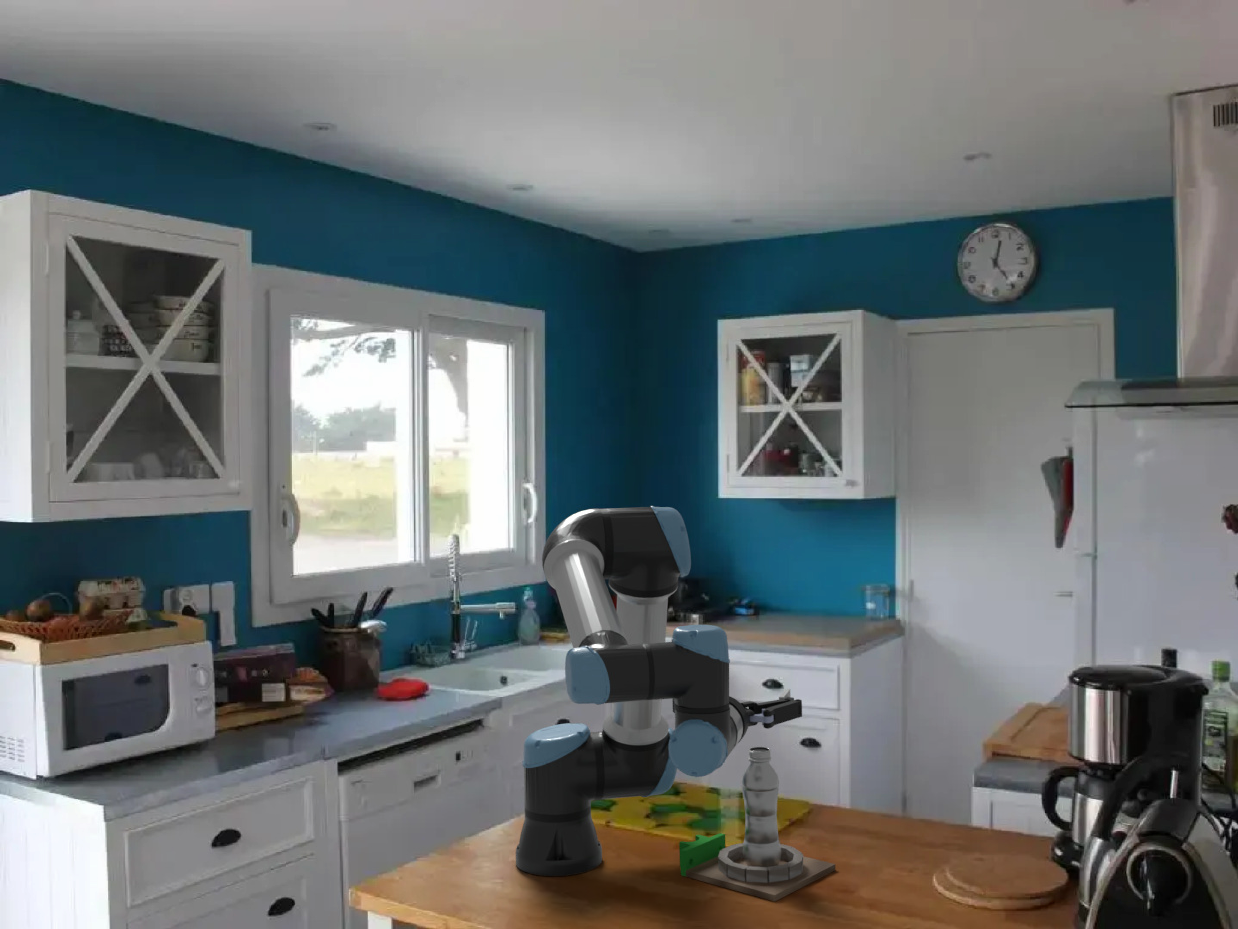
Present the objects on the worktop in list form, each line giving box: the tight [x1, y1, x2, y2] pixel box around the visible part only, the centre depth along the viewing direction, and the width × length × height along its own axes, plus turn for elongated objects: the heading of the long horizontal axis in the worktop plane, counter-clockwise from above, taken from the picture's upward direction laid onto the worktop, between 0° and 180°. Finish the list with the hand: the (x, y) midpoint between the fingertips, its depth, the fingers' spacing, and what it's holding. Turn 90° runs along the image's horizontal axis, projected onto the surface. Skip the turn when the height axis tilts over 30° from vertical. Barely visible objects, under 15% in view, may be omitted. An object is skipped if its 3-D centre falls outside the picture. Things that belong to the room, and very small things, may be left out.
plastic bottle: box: [740, 746, 781, 867], centre depth 203 cm, size 6×7×20 cm
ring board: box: [686, 842, 836, 902], centre depth 203 cm, size 18×18×3 cm
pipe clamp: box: [678, 832, 726, 877], centre depth 208 cm, size 11×4×5 cm, turn 138°
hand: (745, 695), depth 194 cm, fingers open, 13 cm apart
